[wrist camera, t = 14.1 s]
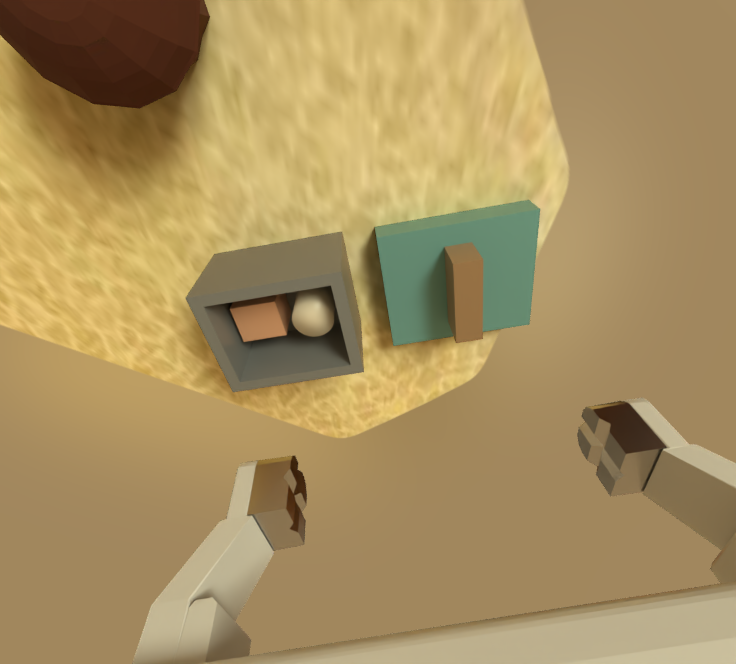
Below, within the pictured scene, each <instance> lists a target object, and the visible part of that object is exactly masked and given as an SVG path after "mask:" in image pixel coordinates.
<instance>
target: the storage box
mask: <svg viewBox="0 0 736 664" xmlns="http://www.w3.org/2000/svg"><path fill="white" fill-rule="evenodd" d="M186 300H187V302H188V304H189V306H190V308H191V310H192V312H193V314H194V316H195V318H196V320H197V322H198V324H199V326H200V328H201V330H202V332H203V334H204V336H205V338H206V340H207V342H208V344H209V345H210V347H211V349H212V351H213V353H214V355H215V357H216V359H217V361H218V363H219V365H220V367H221V369H222V371H223V373H224V375H225V377H226V379H227V381H228V383H229V385H230V387H231V389H232V391H233V392H238V391H244V390H250V389H257V388H263V387H270V386H276V385H283V384H289V383H296V382H302V381H309V380H315V379H322V378H328V377H334V376H341V375H347V374H354V373H360V372H364V365H363V348H362V330H361V319H360V315H359V310H358V305H357V300H356V296H355V291H354V286H353V281H352V277H351V272H350V267H349V262H348V258H347V253H346V248H345V243H344V239H343V234H342V232H338V233H332V234H326V235H321V236H315V237H309V238H304V239H298V240H292V241H286V242H281V243H275V244H269V245H264V246H258V247H252V248H247V249H241V250H235V251H230V252H224V253H218V254H214V256H213V257H212V259H211V260H210V262H209V263H208V265H207V266H206V268H205V269H204V271H203V272H202V274H201V275H200V277H199V278H198V280H197V281H196V283H195V284H194V286H193V287H192V289H191V290H190V292H189V293H188V295H187V297H186Z"/></svg>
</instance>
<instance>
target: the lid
mask: <svg viewBox="0 0 736 664" xmlns="http://www.w3.org/2000/svg"><path fill="white" fill-rule="evenodd" d="M539 216H540V209H539V208H538V207H537V206H536V205H534V204H533V203H532V202H531V201H529V200H526V201H520V202H515V203H509V204H503V205H498V206H492V207H486V208H480V209H475V210H469V211H463V212H458V213H452V214H446V215H441V216H435V217H429V218H423V219H418V220H412V221H406V222H401V223H395V224H389V225H384V226H378V227H375V232H376V239H377V245H378V251H379V258H380V264H381V270H382V277H383V283H384V289H385V296H386V302H387V308H388V314H389V321H390V327H391V333H392V339H393V345H394V346H396V345H402V344H408V343H415V342H421V341H427V340H434V339H440V338H446V337H453V336H454V338H455V341H456V343H460V342H466V341H473V340H479V339H483V332H484V331H491V330H497V329H503V328H510V327H516V326H522V325H529V322H530V312H531V301H532V290H533V280H534V269H535V259H536V248H537V238H538V227H539Z"/></svg>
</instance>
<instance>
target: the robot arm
mask: <svg viewBox="0 0 736 664" xmlns="http://www.w3.org/2000/svg"><path fill="white" fill-rule="evenodd" d="M582 417H583V419H584V421H585V422H584V423H583V424H582V425H581V426H580V427H579V430H578V442H579V446H580V448H581V451H582V453H583V454H584V456H585V458H586V459H587V460H588V461H589V462H591V463H593V464H594V465H596V466H597V472H596V475H597V476H598V478H599V480H600V481H601V483H602V484H603V486H604V487H605V489H606V490H607V492H608V494H609V495H610V496H617V495H625V494H632V493H640V492H643V494H644V495H645V496H646V497H648V498H649V499H651V500H652V501H653V502H655V503H656V504H658V505H659V506H660V507H662V508H663V509H665V510H666V511H668V512H669V513H670V514H672V515H673V516H674V517H676V518H677V519H679V520H680V521H682V522H683V523H684V524H686V525H687V526H688V527H690V528H691V529H693V530H694V531H695V532H697V533H698V534H699V535H701V536H702V537H704V538H705V539H706V540H708V541H709V542H711V543H712V544H714V545H715V546H716V547H718V548H719V549H720V550H722V551H721V552H720V553H719V554H718V556H717V557H716V558H715V560H714V561H713V562H712V565H711V568H710V569H711V571H712V572H713V573H714V575H715V576H716V577H717V579H718V580H719V582H720V583H721V584H714V585H708V586H701V587H694V588H688V589H681V590H676V591H668V592H662V593H656V594H649V595H643V596H636V597H629V598H622V599H617V600H609V601H603V602H596V603H590V604H583V605H577V606H570V607H564V608H557V609H551V610H544V611H538V612H531V613H524V614H518V615H512V616H505V617H499V618H492V619H485V620H479V621H472V622H466V623H459V624H452V625H446V626H440V627H433V628H426V629H420V630H413V631H407V632H400V633H394V634H387V635H381V636H374V637H368V638H361V639H355V640H349V641H342V642H335V643H329V644H322V645H316V646H309V647H303V648H296V649H289V650H283V651H276V652H270V653H263V654H257V655H250V656H249V653H250V644H251V639H250V638H249V636H248V635H247V634H246V633H245V632H244V631H243V630H242V628H241V627H240V626H239V625H238V624H237V623H236V622H235V621H236V619H237V617H238V615H239V614H240V612H241V610H242V608H243V607H244V605H245V603H246V601H247V599H248V598H249V596H250V594H251V592H252V591H253V589H254V587H255V585H256V584H257V582H258V580H259V578H260V576H261V575H262V573H263V571H264V570H265V568H266V566H267V564H268V563H269V561H270V559H271V557H272V556H273V554H274V552H273V551H275V550H280V549H285V548H291V547H296V546H301V545H304V540H305V522H306V521H305V519H304V517H303V514H302V511H303V510H304V508H305V507H306V501H307V493H306V483H305V479H304V476H303V473H302V472H301V471H299V470H298V461H297V459H296V457H295V456H288V457H280V458H272V459H265V460H258V461H251V462H245V463H241V464H240V466H239V467H238V469H237V473H236V478H235V482H234V487H233V491H232V496H231V500H230V504H229V509H228V513H227V517H226V519H225V520H221V521H220V522H219V523H218V524H217V526H216V527H215V528H214V529H213V530H212V532H211V533H210V534H209V535H208V537H207V538H206V539H205V540H204V541H203V543H202V544H201V545H200V546H199V548H198V549H197V550H196V551H195V552H194V554H193V555H192V556H191V557H190V559H189V560H188V561H187V562H186V563H185V565H184V566H183V567H182V568H181V570H180V571H179V572H178V574H177V575H176V576H175V577H174V578H173V579H172V581H171V582H170V583H169V584H168V586H167V587H166V588H165V589H164V590H163V592H162V593H161V594H160V595H159V597H158V598H157V599H156V600H155V602H154V603H153V604H152V605H151V608H150V612H149V615H148V618H147V621H146V624H145V627H144V630H143V633H142V636H141V639H140V642H139V645H138V648H137V651H136V654H135V657H134V660H133V663H132V664H736V463H734V462H732V461H729V460H728V459H725V458H723V457H721V456H719V455H717V454H715V453H713V452H711V451H709V450H706V449H705V448H703V447H700V446H698V445H696V444H692V445H689V444H688V443H687V442H686V441H685V440H684V438H683V437H681V435H680V434H679V433H678V432H677V431H676V430H675V429H674V428H673V427H672V426H671V425H670V424H669V422H668V421H666V419H665V418H664V417H663V416H662V415H661V414H660V413H659V412H658V411H657V410H656V409H655V408H654V407H653V405H652V404H651V403H650V402H649V401H648V400H646V399H644V398H637V399H631V400H625V401H617V402H611V403H606V404H600V405H594V406H589V407H586V408H585V409H584V410H583V413H582Z"/></svg>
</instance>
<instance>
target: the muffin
mask: <svg viewBox="0 0 736 664" xmlns="http://www.w3.org/2000/svg"><path fill="white" fill-rule="evenodd" d="M209 18H210V16H209V13H208V10H207V7H206V4H205V1H204V0H0V35H1V36H2V37H3V38H4V39H5V40H6V41H7V42H8V43H9V44H10V45H11V46H12V47H13V48H14V49H15V50H16V51H17V52H18V53H19V54H20V55H21V56H22V57H23V58H24V59H25V60H26V61H27V62H28V63H29V64H30V65H31V66H32V67H33V68H34V69H35V70H36V71H37V72H38V73H40V74H41V75H42V76H43V77H44V78H45V79H47V80H49V81H51V82H53V83H55V84H57V85H59V86H60V87H62V88H64V89H66V90H68V91H70V92H72V93H74V94H76V95H78V96H80V97H81V98H83V99H85V100H87V101H89V102H91V103H93V104H100V105H110V106H121V107H131V108H141V107H143V106H145V105H148V104H150V103H152V102H154V101H156V100H158V99H160V98H162V97H164V96H166V95H169V94H171V93H173V92H175V91H176V90H177V88H178V87H179V85H180V83H181V81H182V80H183V78H184V76H185V74H186V73H187V71H188V69H189V68H190V66H191V65H192V64H193V63H194V62H196V61H197V60H198V57H199V51H200V45H201V39H202V36H203V33H204V31H205V28H206V25H207V23H208V20H209Z"/></svg>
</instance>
